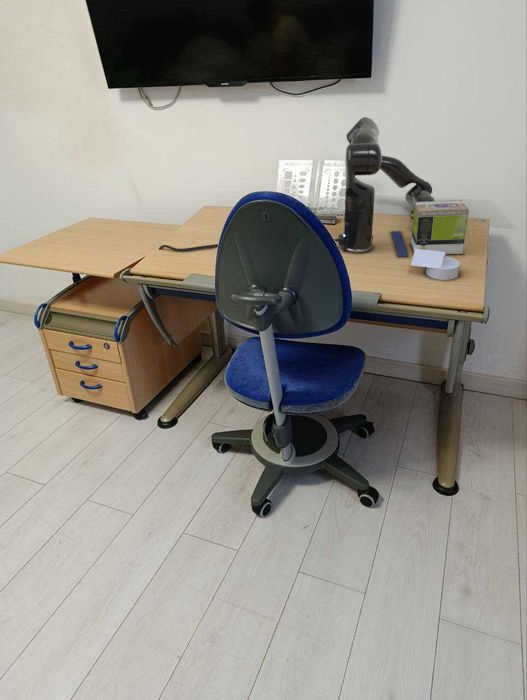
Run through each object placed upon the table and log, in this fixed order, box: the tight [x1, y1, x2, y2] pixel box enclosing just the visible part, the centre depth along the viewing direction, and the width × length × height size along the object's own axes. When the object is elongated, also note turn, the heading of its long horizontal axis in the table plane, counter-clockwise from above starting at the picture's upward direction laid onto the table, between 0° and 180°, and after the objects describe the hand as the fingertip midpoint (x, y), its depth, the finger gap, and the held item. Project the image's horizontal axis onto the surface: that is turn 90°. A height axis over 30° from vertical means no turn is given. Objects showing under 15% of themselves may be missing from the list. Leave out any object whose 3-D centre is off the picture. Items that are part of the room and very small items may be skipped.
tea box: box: [410, 199, 470, 255], centre depth 161 cm, size 15×10×15 cm, turn 83°
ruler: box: [391, 230, 408, 258], centre depth 170 cm, size 3×22×1 cm, turn 173°
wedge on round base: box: [410, 249, 461, 281], centre depth 149 cm, size 9×7×13 cm
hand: (433, 223), depth 168 cm, fingers closed
